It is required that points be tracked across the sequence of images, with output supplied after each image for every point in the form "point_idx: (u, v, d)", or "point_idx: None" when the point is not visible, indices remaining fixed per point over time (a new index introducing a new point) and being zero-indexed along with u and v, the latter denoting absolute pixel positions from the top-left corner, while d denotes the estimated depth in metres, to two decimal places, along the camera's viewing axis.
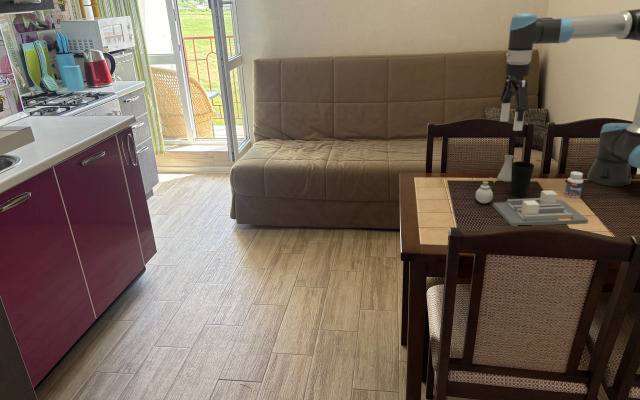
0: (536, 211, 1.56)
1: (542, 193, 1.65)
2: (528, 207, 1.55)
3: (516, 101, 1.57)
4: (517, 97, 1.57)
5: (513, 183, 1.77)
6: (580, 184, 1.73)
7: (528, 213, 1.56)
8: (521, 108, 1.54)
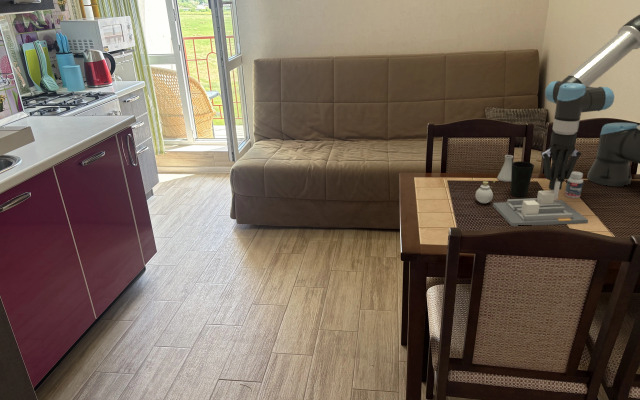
0: (536, 211, 1.56)
1: (539, 193, 1.65)
2: (528, 207, 1.55)
3: None
4: (551, 166, 1.61)
5: (513, 183, 1.77)
6: (580, 184, 1.73)
7: (528, 213, 1.56)
8: (545, 176, 1.63)
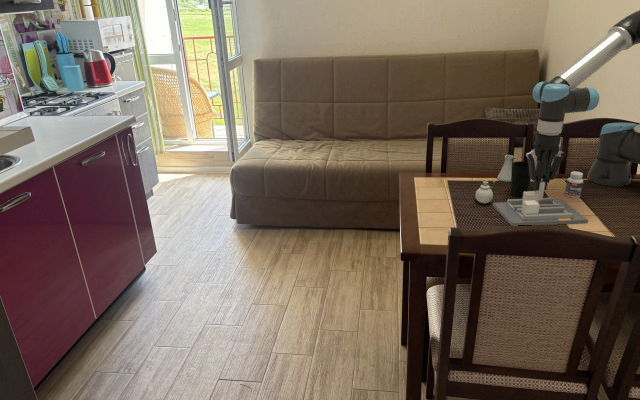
0: (536, 211, 1.56)
1: (524, 194, 1.65)
2: (528, 207, 1.55)
3: None
4: (536, 166, 1.61)
5: (513, 183, 1.77)
6: (580, 184, 1.73)
7: (528, 213, 1.56)
8: (530, 177, 1.63)
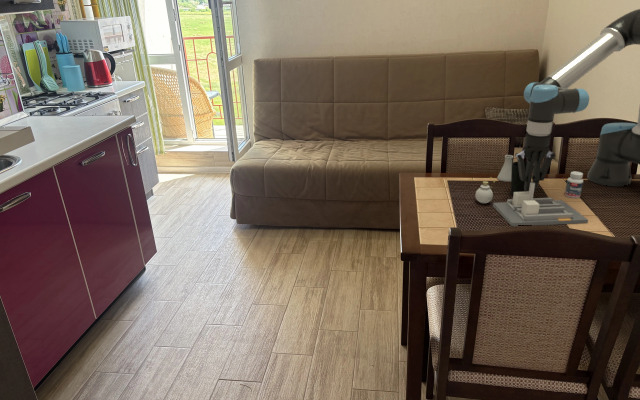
0: (536, 211, 1.56)
1: (514, 194, 1.65)
2: (528, 207, 1.55)
3: None
4: (526, 167, 1.61)
5: (513, 183, 1.77)
6: (580, 184, 1.73)
7: (528, 213, 1.56)
8: (520, 178, 1.63)
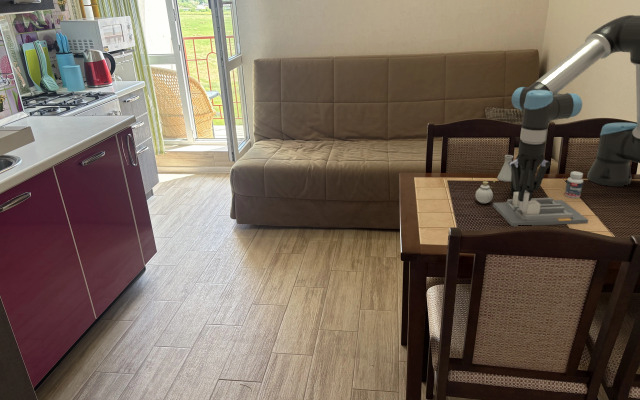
0: (537, 211, 1.56)
1: (514, 194, 1.65)
2: (529, 207, 1.55)
3: None
4: (520, 176, 1.54)
5: None
6: (580, 184, 1.73)
7: (529, 213, 1.56)
8: (513, 187, 1.55)
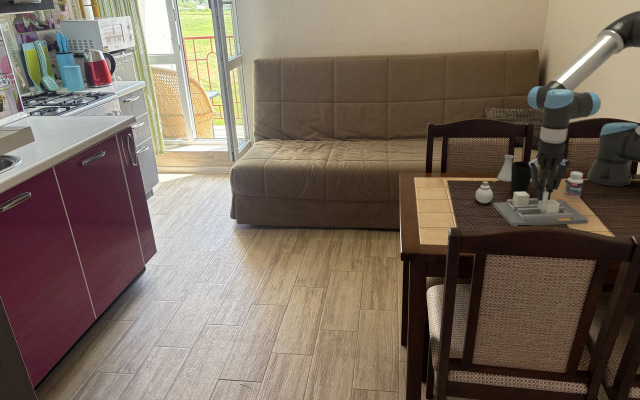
0: (556, 210, 1.56)
1: (514, 194, 1.65)
2: (548, 207, 1.56)
3: None
4: (539, 175, 1.54)
5: (513, 183, 1.77)
6: (580, 184, 1.73)
7: (548, 212, 1.56)
8: (533, 186, 1.56)
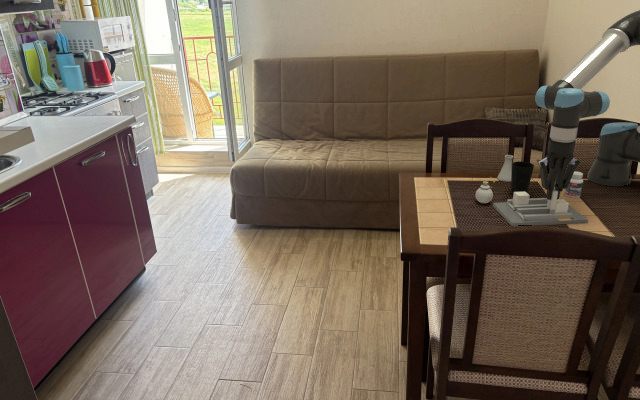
0: (565, 210, 1.56)
1: (514, 194, 1.65)
2: (557, 206, 1.56)
3: None
4: (549, 175, 1.54)
5: (513, 183, 1.77)
6: (580, 184, 1.73)
7: (557, 212, 1.56)
8: (542, 185, 1.56)
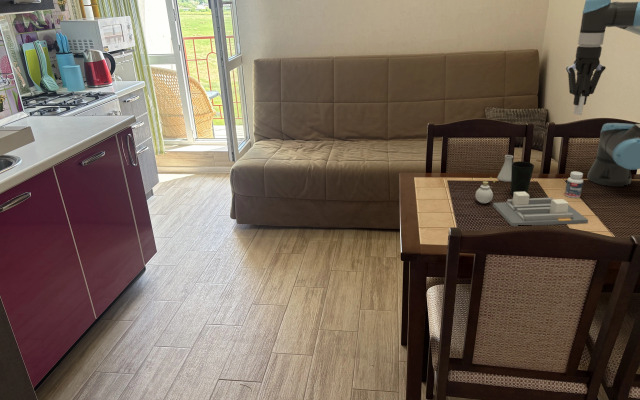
0: (565, 210, 1.56)
1: (514, 194, 1.65)
2: (557, 206, 1.56)
3: None
4: (576, 81, 1.68)
5: (513, 183, 1.77)
6: (580, 184, 1.73)
7: (557, 212, 1.56)
8: (570, 92, 1.69)
